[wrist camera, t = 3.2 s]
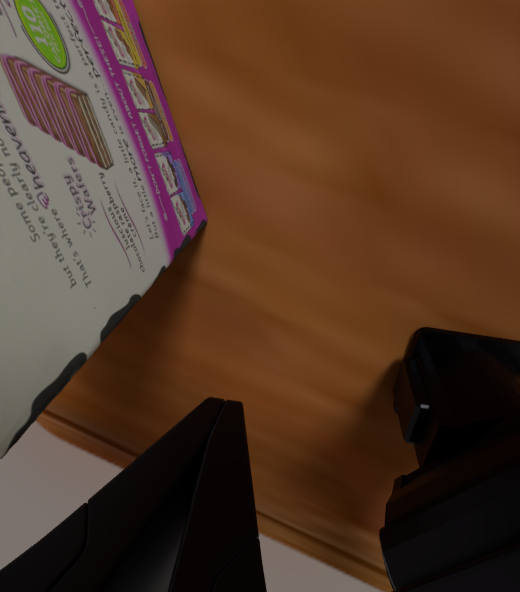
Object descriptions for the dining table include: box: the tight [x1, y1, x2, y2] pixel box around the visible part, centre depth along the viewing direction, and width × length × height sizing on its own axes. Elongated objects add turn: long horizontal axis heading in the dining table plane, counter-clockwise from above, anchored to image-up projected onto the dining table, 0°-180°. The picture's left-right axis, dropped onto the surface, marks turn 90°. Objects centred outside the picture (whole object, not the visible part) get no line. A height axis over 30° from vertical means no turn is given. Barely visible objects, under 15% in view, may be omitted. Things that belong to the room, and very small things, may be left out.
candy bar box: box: [0, 0, 207, 459], centre depth 11 cm, size 11×5×16 cm, turn 16°
